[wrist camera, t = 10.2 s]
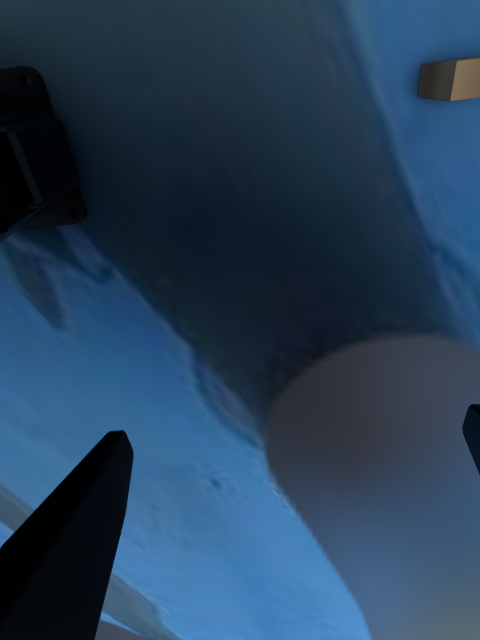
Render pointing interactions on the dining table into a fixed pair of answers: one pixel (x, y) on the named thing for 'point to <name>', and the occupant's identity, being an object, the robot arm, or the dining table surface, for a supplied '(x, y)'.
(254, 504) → the dining table surface
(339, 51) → the dining table surface
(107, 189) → the dining table surface
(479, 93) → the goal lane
